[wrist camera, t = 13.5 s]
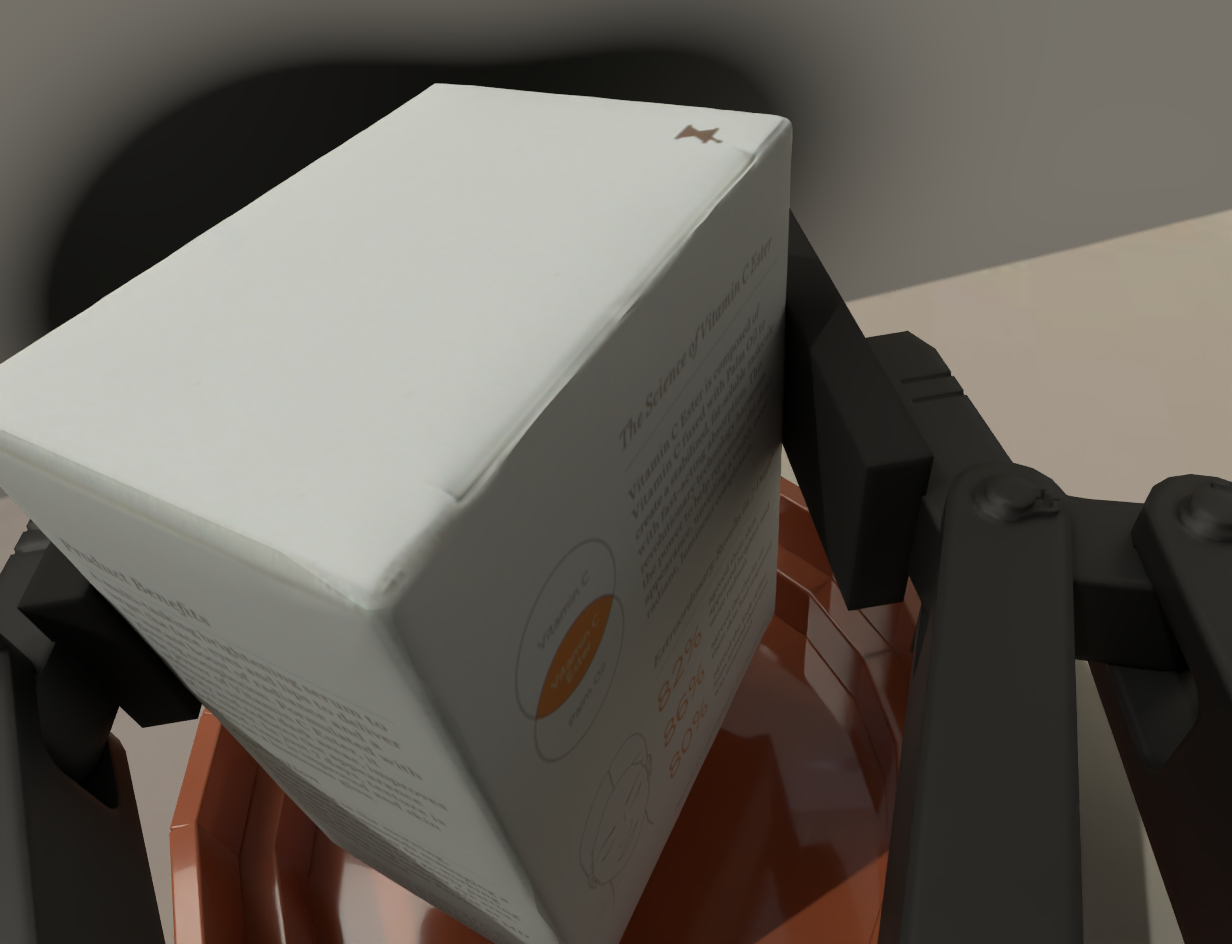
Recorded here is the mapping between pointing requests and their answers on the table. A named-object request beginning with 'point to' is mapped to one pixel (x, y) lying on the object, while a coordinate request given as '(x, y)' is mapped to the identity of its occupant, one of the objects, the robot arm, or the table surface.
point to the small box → (450, 482)
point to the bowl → (700, 840)
